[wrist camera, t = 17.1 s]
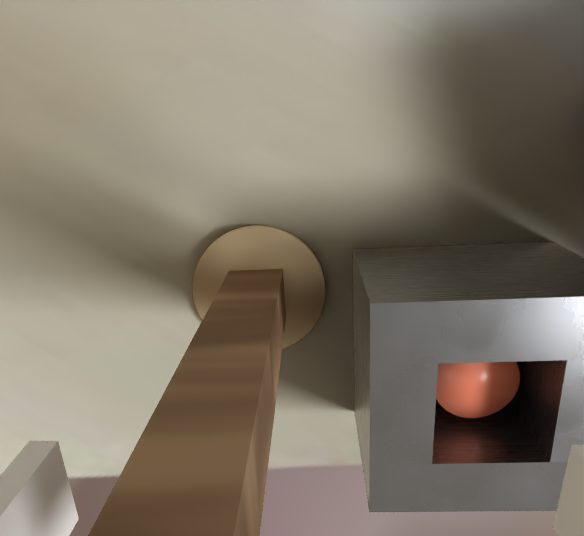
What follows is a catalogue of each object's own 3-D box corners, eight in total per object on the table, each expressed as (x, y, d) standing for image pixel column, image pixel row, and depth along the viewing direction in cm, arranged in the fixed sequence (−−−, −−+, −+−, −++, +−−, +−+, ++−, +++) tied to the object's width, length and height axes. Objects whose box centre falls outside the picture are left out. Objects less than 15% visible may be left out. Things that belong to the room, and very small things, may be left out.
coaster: (187, 228, 23) (184, 231, 22) (322, 222, 23) (323, 224, 22) (203, 348, 25) (200, 353, 25) (326, 344, 25) (327, 350, 24)
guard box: (352, 249, 23) (370, 303, 16) (552, 241, 22) (652, 294, 16) (354, 411, 26) (369, 512, 20) (528, 408, 26) (604, 510, 19)
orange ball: (414, 308, 23) (435, 345, 19) (489, 305, 23) (524, 343, 19) (412, 371, 24) (431, 418, 21) (483, 369, 24) (515, 417, 20)
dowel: (228, 270, 23) (71, 568, 8) (282, 268, 23) (227, 567, 8) (234, 319, 24) (101, 671, 9) (286, 318, 24) (241, 673, 9)
